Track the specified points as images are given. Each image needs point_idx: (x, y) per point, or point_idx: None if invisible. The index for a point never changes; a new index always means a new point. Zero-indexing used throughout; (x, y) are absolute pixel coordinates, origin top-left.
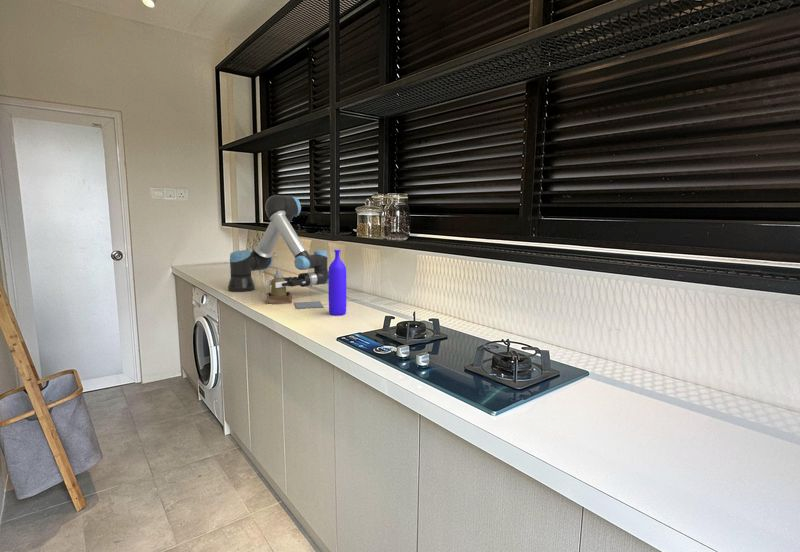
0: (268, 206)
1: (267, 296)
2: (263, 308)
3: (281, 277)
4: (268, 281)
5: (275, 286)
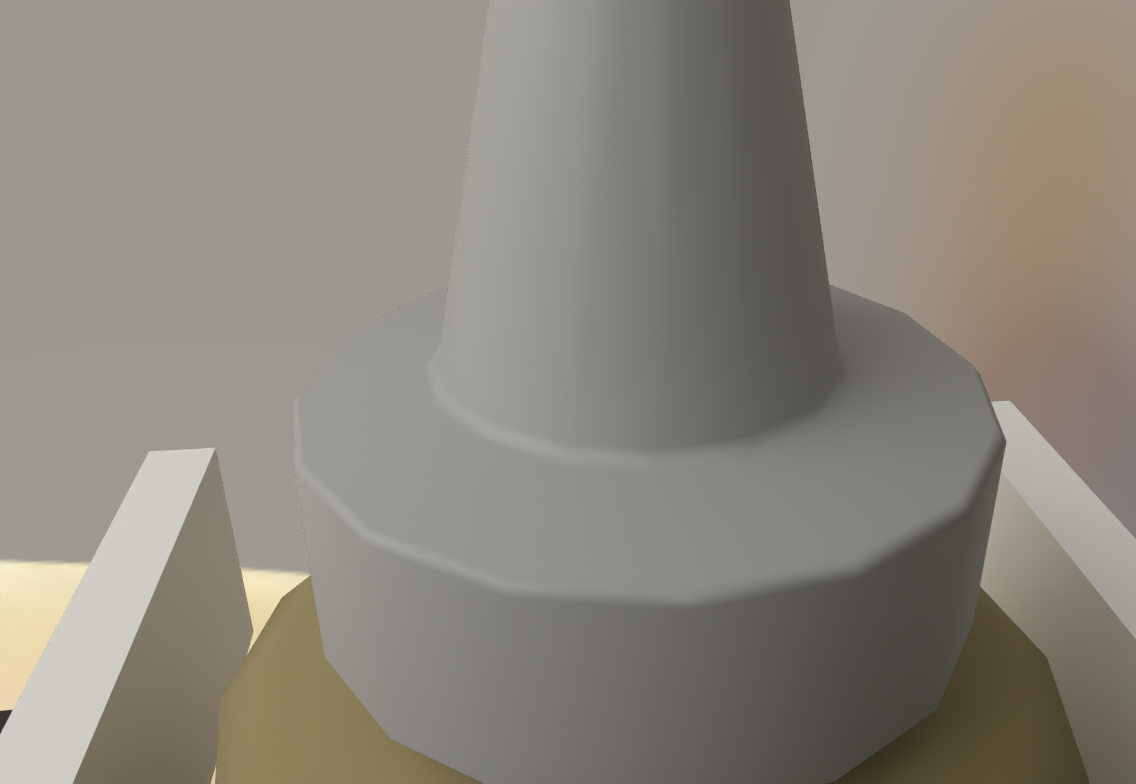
0: None
1: None
2: None
3: (315, 577)
4: None
5: (233, 592)
